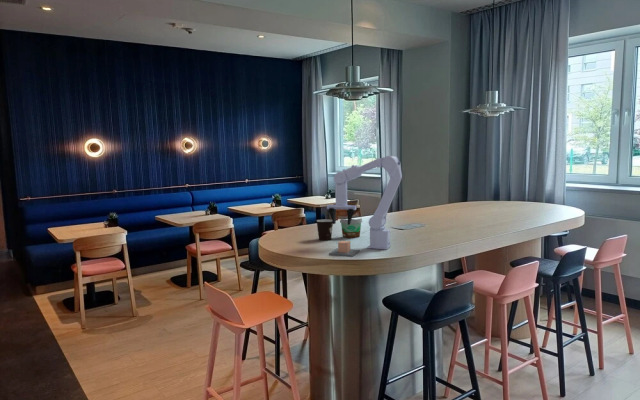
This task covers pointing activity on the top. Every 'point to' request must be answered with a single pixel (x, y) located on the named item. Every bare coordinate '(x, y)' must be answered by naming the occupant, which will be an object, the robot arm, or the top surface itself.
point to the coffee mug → (324, 229)
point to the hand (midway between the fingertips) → (341, 224)
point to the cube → (344, 246)
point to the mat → (350, 253)
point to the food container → (351, 228)
